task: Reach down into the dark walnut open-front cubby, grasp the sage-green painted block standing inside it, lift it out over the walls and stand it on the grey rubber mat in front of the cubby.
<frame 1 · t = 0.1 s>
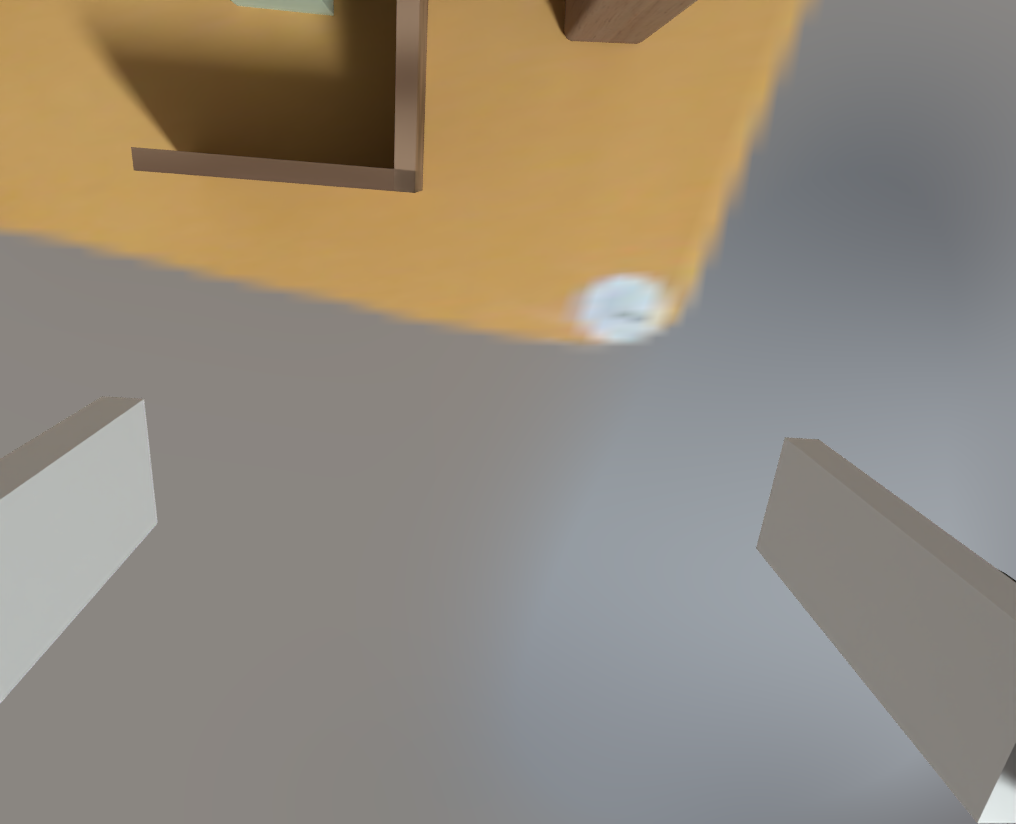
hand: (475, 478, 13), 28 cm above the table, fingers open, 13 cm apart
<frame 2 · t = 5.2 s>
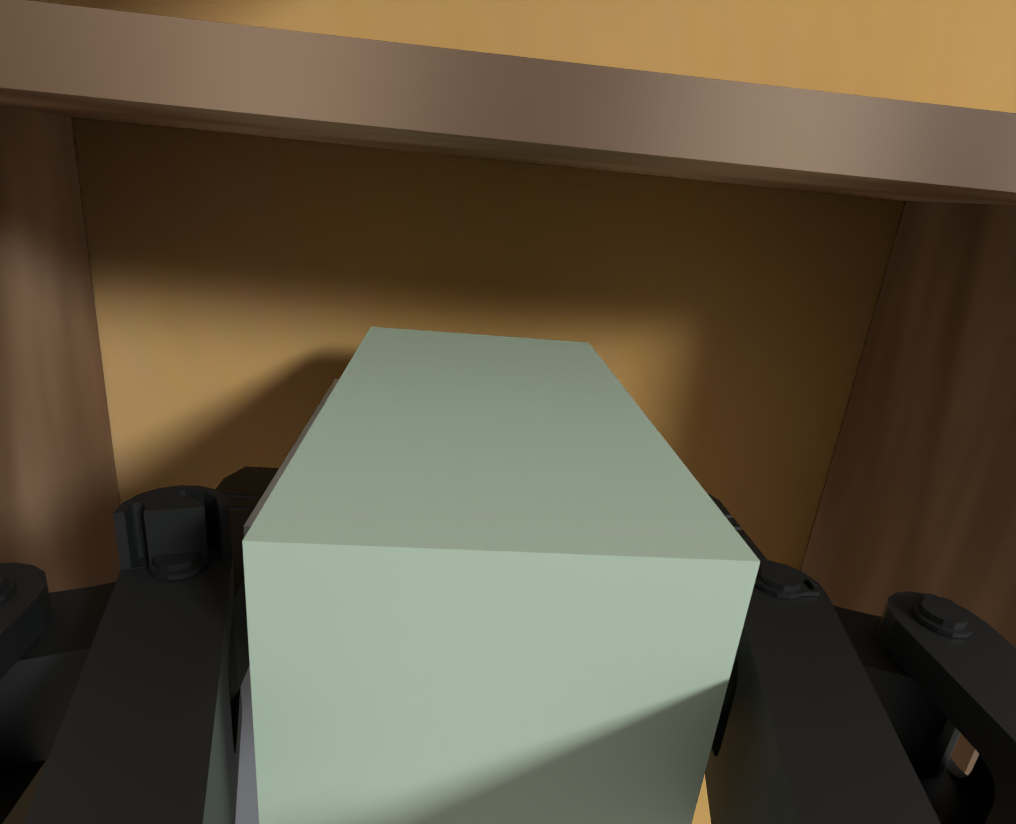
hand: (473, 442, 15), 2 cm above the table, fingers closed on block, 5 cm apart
mat: (276, 723, 20), on the table
block: (473, 435, 15), point 2 cm above the table, touching gripper
cubby: (492, 381, 17), on the table
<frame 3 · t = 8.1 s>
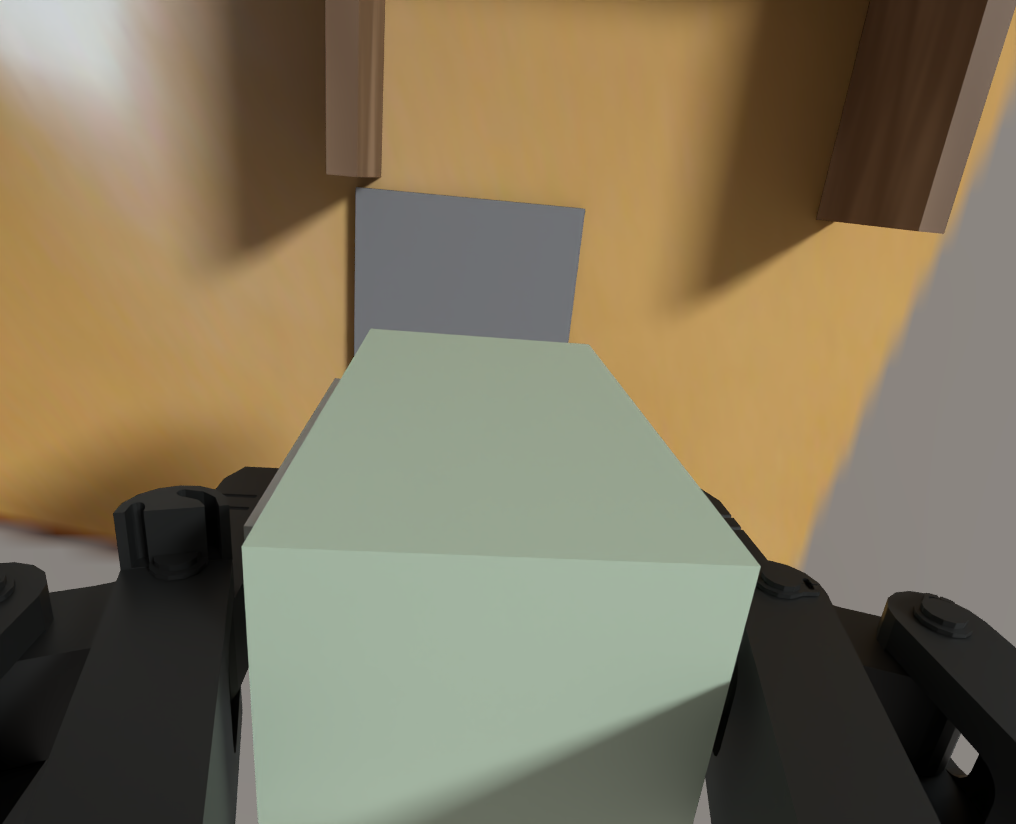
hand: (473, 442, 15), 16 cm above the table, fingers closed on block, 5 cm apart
mat: (464, 309, 30), on the table
block: (473, 437, 15), point 15 cm above the table, touching gripper
cubby: (629, 34, 26), on the table
when the fingers open (1 cm above the table, at t = 11.2 s): block stays where it is, resting on mat.
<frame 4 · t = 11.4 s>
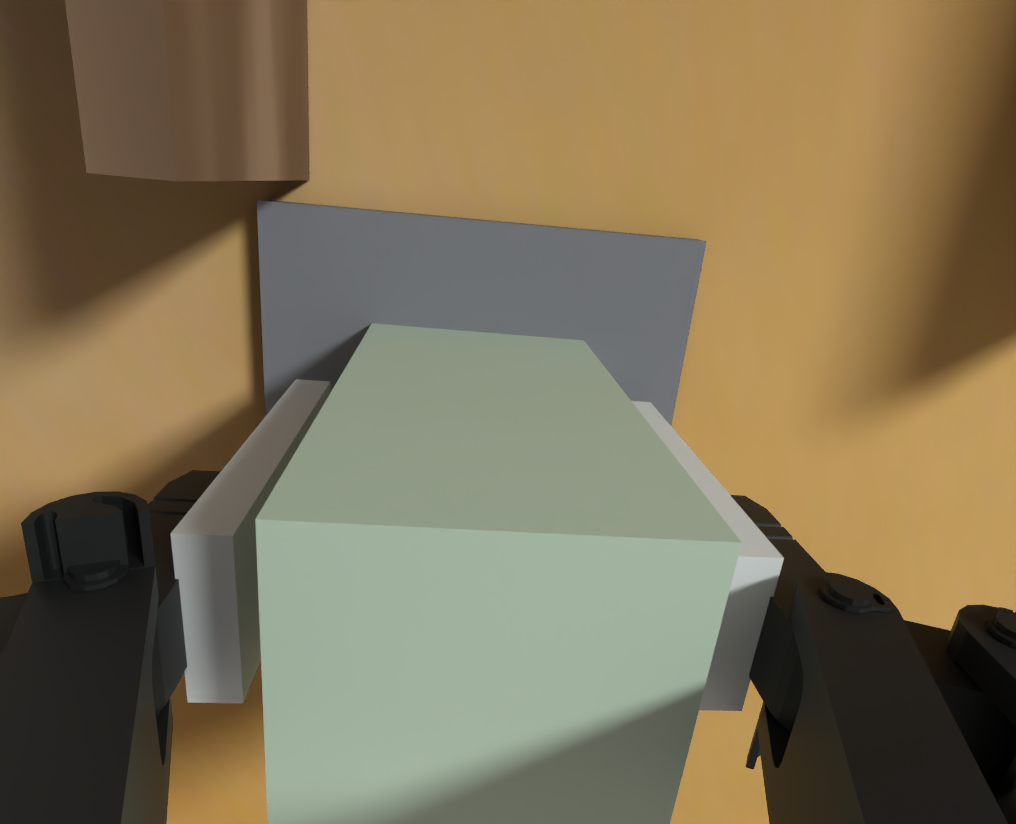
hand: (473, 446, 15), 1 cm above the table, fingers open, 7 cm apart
mat: (472, 423, 16), on the table
block: (471, 430, 16), point 1 cm above the table, touching mat
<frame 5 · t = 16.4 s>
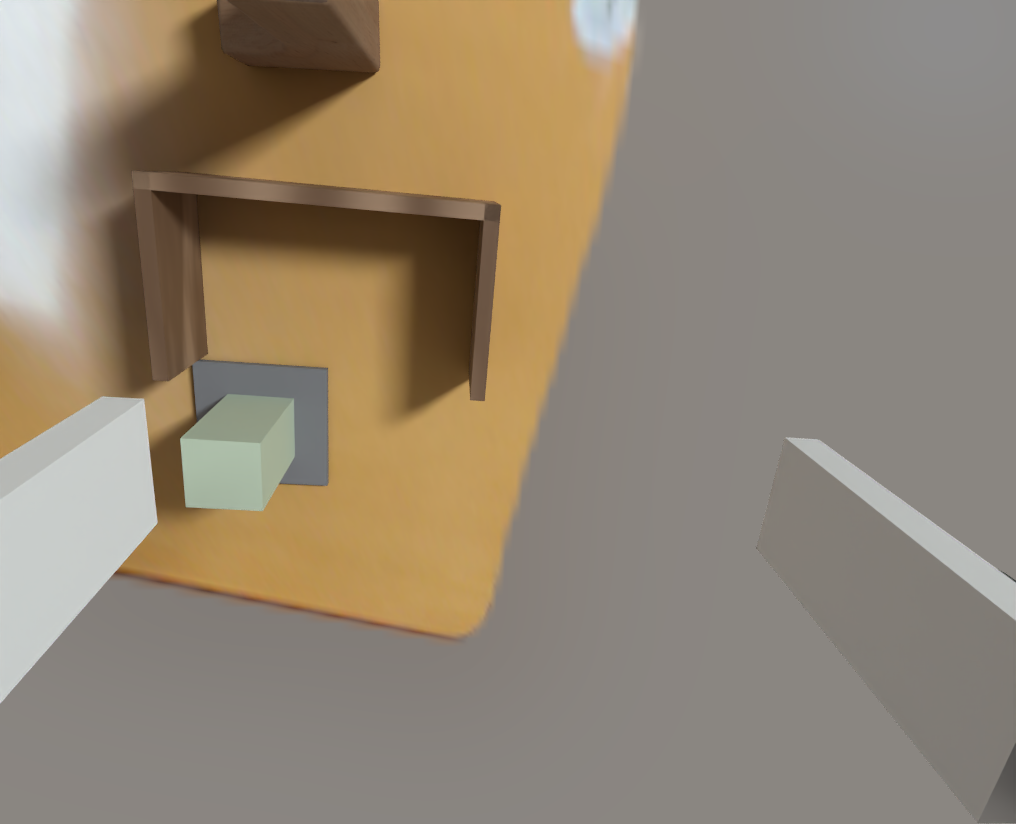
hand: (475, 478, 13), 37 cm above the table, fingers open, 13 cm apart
mat: (264, 423, 51), on the table
wooden block: (311, 32, 42), on the table
block: (262, 425, 50), resting on mat
cubby: (341, 279, 47), on the table
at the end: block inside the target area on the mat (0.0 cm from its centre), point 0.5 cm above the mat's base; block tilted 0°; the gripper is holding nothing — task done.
